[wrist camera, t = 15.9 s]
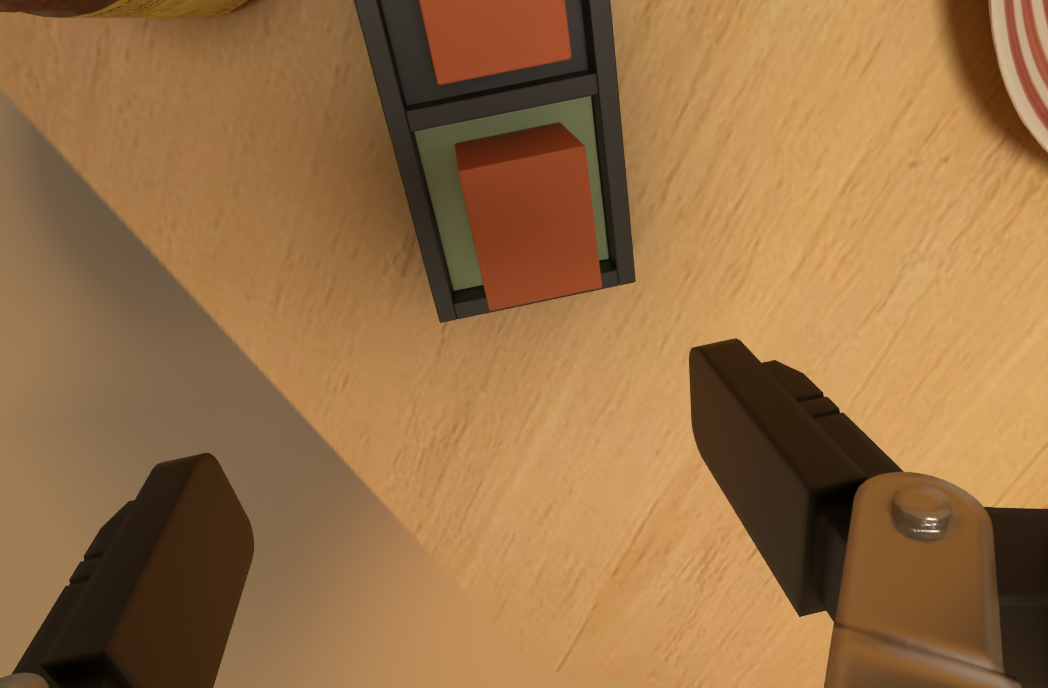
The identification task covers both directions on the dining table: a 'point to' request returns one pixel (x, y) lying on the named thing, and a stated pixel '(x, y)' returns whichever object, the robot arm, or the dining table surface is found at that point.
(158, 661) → the robot arm
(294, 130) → the dining table surface
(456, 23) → the orange rectangular block
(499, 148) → the orange block
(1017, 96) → the dinner plate
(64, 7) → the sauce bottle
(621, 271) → the pad holder
